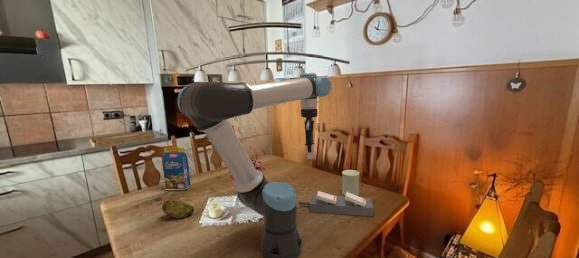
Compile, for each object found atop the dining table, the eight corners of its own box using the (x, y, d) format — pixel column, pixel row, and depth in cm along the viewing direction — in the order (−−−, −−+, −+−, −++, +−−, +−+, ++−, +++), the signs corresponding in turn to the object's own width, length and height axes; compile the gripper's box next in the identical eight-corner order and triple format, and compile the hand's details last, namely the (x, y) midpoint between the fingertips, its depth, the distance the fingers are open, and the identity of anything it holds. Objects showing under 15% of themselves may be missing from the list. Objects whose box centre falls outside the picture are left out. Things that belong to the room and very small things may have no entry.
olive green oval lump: (186, 222, 110) (184, 205, 109) (160, 220, 113) (158, 203, 111) (196, 212, 119) (194, 196, 117) (171, 211, 121) (169, 195, 119)
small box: (345, 199, 112) (346, 196, 111) (345, 194, 117) (346, 191, 116) (364, 207, 111) (366, 204, 110) (363, 202, 115) (365, 198, 115)
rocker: (316, 198, 114) (317, 195, 114) (317, 193, 119) (318, 190, 119) (335, 204, 113) (336, 201, 113) (335, 199, 118) (336, 196, 118)
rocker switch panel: (297, 211, 117) (297, 200, 116) (300, 201, 126) (300, 191, 126) (373, 216, 110) (373, 205, 109) (370, 205, 120) (370, 195, 119)
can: (359, 197, 129) (360, 175, 127) (341, 196, 131) (341, 174, 129) (358, 189, 138) (359, 169, 136) (341, 188, 140) (341, 168, 138)
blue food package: (171, 186, 151) (166, 146, 146) (190, 186, 150) (186, 146, 145) (165, 191, 145) (160, 149, 140) (185, 191, 144) (181, 149, 139)
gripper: (316, 109, 105) (316, 163, 109) (318, 106, 117) (319, 154, 122) (298, 109, 106) (299, 162, 111) (302, 106, 119) (303, 154, 123)
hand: (309, 158), depth 116 cm, fingers closed
